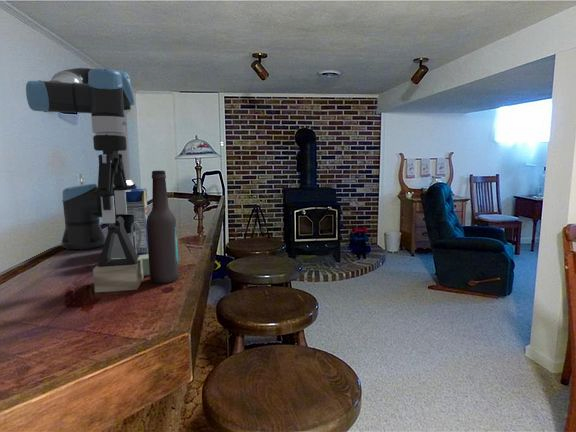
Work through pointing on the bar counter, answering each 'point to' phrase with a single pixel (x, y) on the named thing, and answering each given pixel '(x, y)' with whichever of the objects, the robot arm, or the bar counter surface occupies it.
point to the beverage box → (138, 215)
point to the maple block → (118, 277)
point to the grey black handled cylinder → (130, 229)
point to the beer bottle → (161, 234)
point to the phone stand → (125, 243)
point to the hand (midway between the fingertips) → (115, 218)
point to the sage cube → (145, 264)
